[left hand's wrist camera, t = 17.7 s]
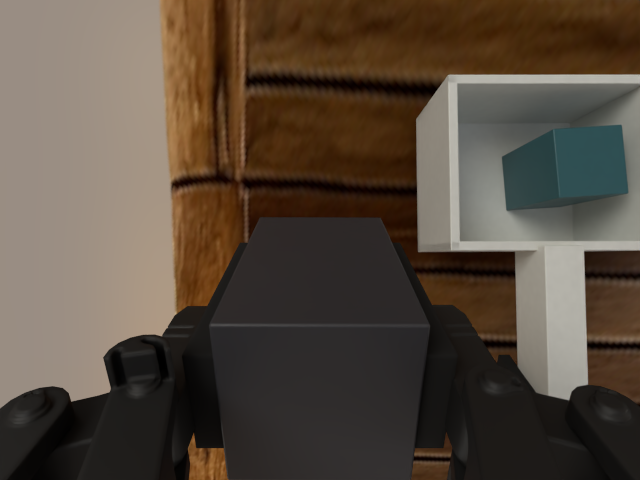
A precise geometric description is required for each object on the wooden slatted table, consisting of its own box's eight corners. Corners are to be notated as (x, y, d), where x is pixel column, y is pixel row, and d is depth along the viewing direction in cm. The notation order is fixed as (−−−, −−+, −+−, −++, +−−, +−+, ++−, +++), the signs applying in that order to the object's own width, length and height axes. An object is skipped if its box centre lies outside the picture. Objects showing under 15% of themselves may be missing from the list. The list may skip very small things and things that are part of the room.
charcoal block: (381, 217, 14) (431, 325, 8) (374, 320, 16) (411, 482, 9) (259, 216, 14) (208, 324, 8) (265, 320, 16) (226, 481, 9)
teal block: (555, 152, 32) (622, 124, 25) (560, 207, 32) (629, 193, 25) (501, 156, 32) (553, 128, 25) (505, 210, 32) (559, 198, 25)
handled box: (572, 118, 32) (666, 67, 24) (580, 406, 32) (682, 464, 23) (416, 118, 32) (452, 68, 24) (419, 407, 31) (459, 466, 23)
